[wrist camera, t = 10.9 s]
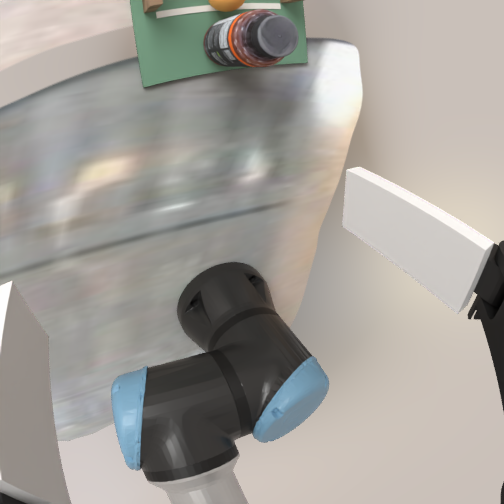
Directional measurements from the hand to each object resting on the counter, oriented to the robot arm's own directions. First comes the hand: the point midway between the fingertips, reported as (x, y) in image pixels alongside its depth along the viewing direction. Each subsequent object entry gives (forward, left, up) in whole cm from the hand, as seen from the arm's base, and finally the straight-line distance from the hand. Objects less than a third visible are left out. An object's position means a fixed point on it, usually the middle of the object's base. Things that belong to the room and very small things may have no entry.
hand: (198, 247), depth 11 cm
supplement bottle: (+7, -13, -26) cm, 30 cm away
